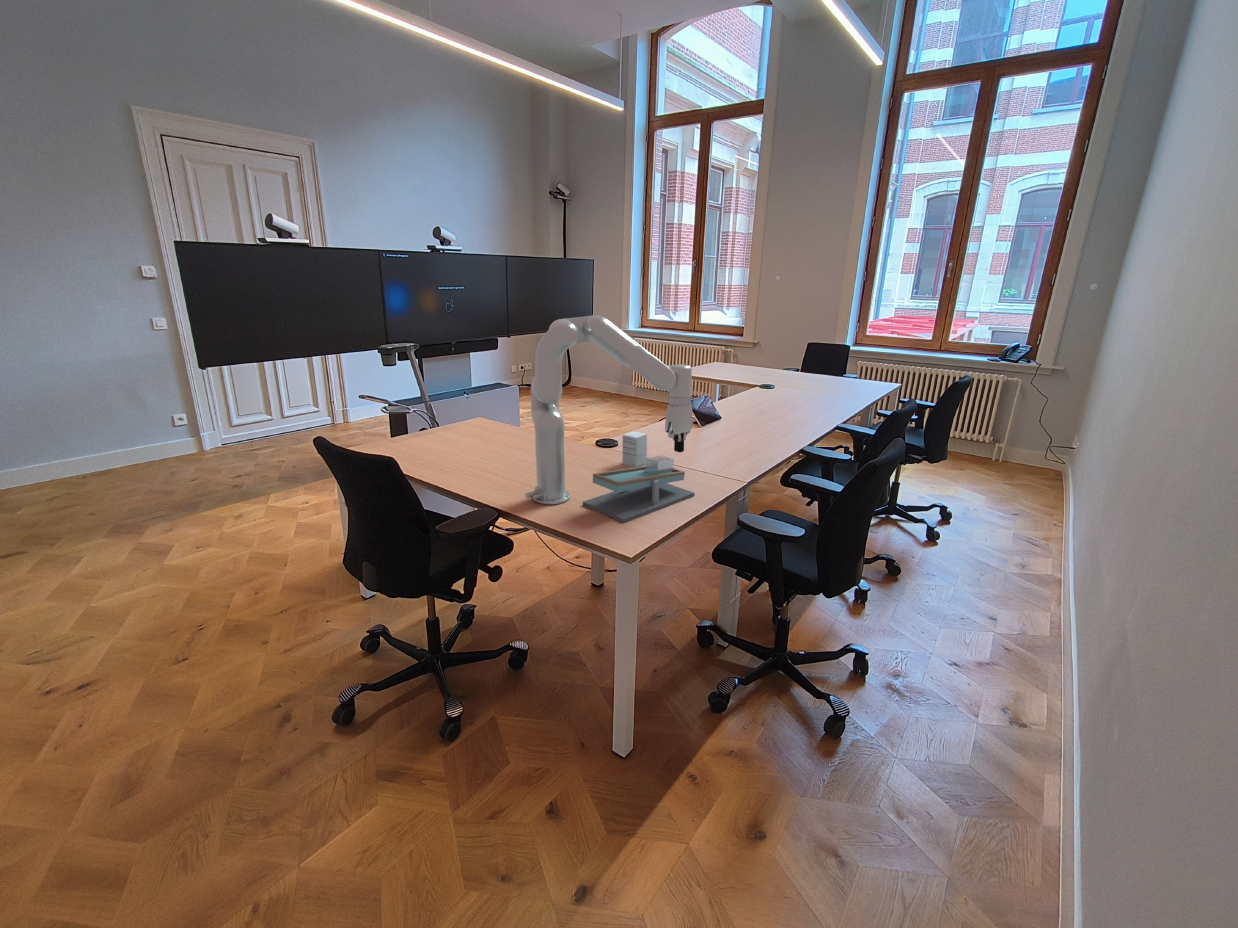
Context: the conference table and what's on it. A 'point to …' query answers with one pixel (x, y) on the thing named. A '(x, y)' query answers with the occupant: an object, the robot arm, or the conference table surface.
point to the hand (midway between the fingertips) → (679, 451)
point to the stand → (637, 501)
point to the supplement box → (634, 449)
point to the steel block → (658, 465)
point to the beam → (633, 478)
